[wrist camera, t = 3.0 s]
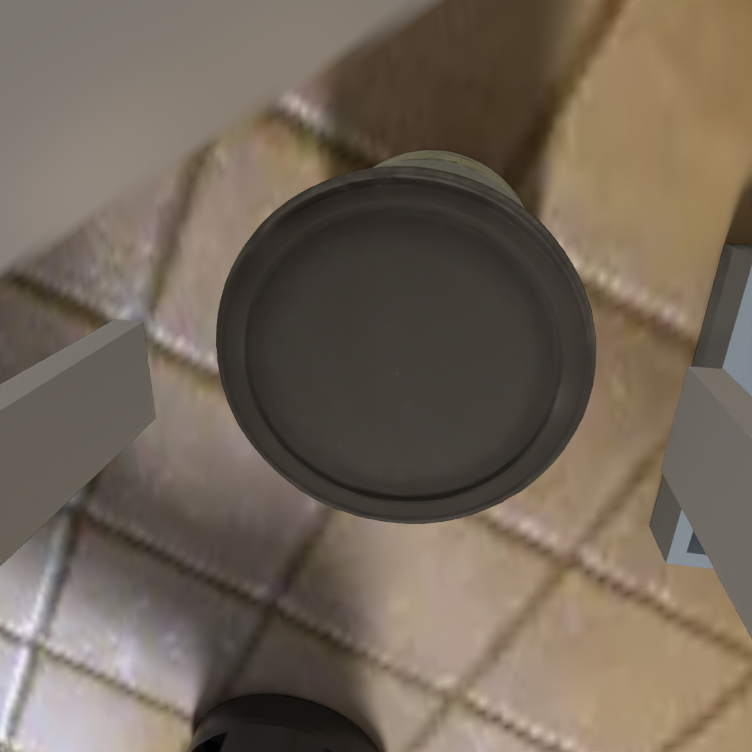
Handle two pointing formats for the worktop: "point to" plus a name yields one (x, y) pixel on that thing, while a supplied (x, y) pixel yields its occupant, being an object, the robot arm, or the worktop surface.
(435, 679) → the worktop surface
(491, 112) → the worktop surface
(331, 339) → the coffee can
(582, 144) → the worktop surface
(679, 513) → the tray
